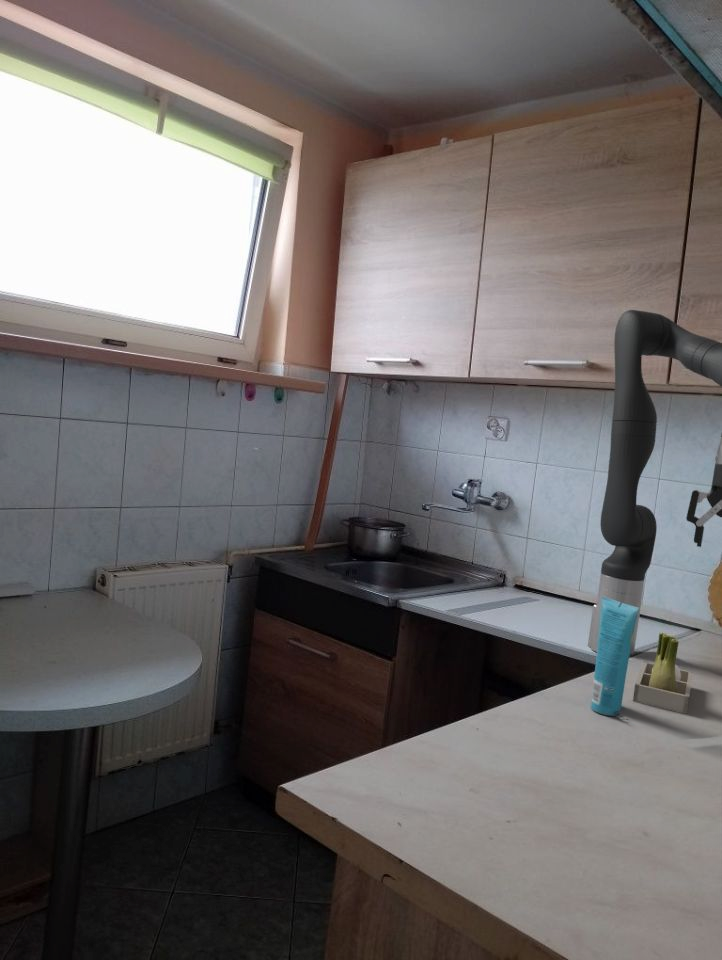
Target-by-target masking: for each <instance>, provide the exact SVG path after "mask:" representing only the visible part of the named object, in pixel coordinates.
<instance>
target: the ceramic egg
mask: <svg viewBox="0 0 722 960" xmlns="http://www.w3.org/2000/svg"><path fill="white" fill-rule="evenodd" d="M653 667H654V666H653ZM679 669H680V668H679V666H678V665H677V664H676V663H675V678H676V680H678V681H680V680H681V672H680V670H679ZM652 671H653V668H652Z"/></svg>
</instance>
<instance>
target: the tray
mask: <svg viewBox="0 0 722 960" xmlns="http://www.w3.org/2000/svg"><path fill="white" fill-rule="evenodd" d="M641 665H642V666H641V668H640V671H639V674H638V676H637V677H636V681H635V684H634V688H633V689H634V690H633V696H632V702H636V703H639V704H643V705H646V706H651V707H654V708H655V707H656V708H659V709H664V710H668V711H671V712H677V713H681V714H684V715H688V708H689V701H690V694H691V687H692V680H693V679H692V678H693V671H689V670H685V669H680V668H679V670H680V672H681V680H680V681H678V680H676V683H677V687H678V693H675V692H670V691H666V690H662V689H657V688H653V687H649V681H650V677H651V674H652V668H653V666H654V662H653V663H652V662H648V661H643V663H642V664H641Z"/></svg>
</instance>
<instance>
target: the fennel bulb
mask: <svg viewBox="0 0 722 960" xmlns="http://www.w3.org/2000/svg"><path fill="white" fill-rule="evenodd" d="M657 642H658V644H657V648H656V653H655V654H656V655H655V658H654V662H653V663H654V667H653V671H652V674H651V677H650V681H649V687H653V688H657V689H662V690H666V691H670V692H675V693H678V687H677V683H676V678H675V664H676V663H677V662H676V661H677V654H678V647H679V640H678V639H677V638H676V637H675V635H669V634H667V633H665V632H659V634H658V641H657Z"/></svg>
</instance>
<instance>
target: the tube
mask: <svg viewBox="0 0 722 960" xmlns="http://www.w3.org/2000/svg"><path fill="white" fill-rule="evenodd" d="M638 610H639V608H638V607H634V606H630V605H627V604H624V603H621V602H618V601H615V600H612V599H609V598H606V597H602V606H601V619H600V629H599V639H598V649H597V652H596V658H595V659H596V660H595V665H594V666H595V668H594V678H593V685H592V694H591V702H590V708H591V710H593V711H594V712H596V713H598V714H601V715H604V716H613V717H615V716H619V715H620V713H618V712H620V711H621V710H622V704H623V697H624V690H625V684H626V680H627V679H626V677H627V671H628V664H629V661H630V655H631V654H630V649H631V643H632V638H633V633H634V628H635V623H636V619H637V615H638Z"/></svg>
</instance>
